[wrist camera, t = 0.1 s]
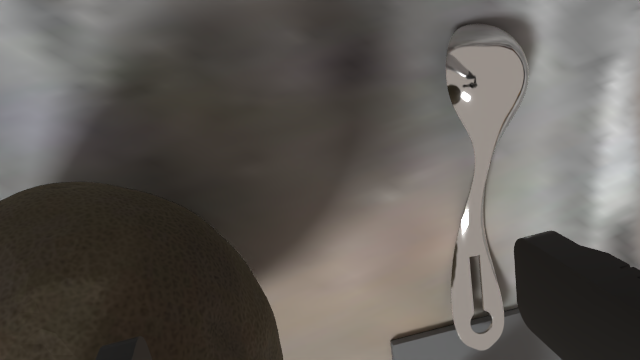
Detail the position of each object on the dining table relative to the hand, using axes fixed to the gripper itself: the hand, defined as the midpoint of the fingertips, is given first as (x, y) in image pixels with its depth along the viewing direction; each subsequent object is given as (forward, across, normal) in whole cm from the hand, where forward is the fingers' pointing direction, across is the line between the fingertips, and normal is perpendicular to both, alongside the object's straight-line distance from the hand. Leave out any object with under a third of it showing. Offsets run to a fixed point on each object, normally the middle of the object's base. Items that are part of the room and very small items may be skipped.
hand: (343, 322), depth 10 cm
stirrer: (+18, -12, +5) cm, 22 cm away
